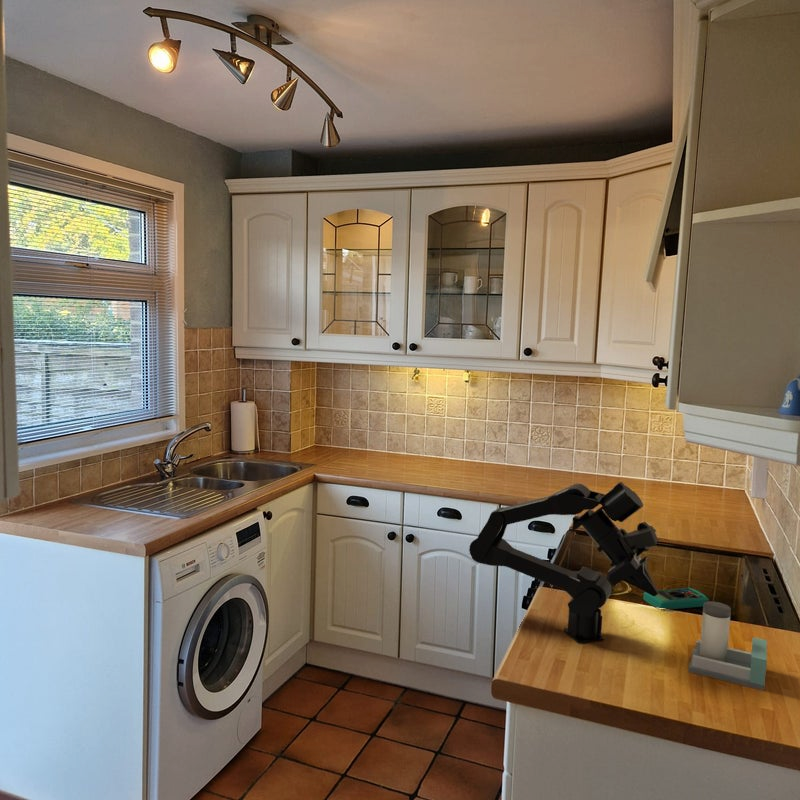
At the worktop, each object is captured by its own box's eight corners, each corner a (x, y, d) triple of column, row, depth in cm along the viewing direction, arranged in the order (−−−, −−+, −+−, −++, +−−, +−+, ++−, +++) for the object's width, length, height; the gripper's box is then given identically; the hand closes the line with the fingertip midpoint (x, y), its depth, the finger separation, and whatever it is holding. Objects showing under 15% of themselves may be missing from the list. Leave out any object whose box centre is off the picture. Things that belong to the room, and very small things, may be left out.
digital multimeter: (710, 608, 169) (711, 596, 168) (660, 612, 164) (661, 600, 164) (690, 596, 176) (691, 586, 175) (641, 601, 171) (642, 589, 171)
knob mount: (688, 671, 134) (690, 642, 133) (693, 652, 143) (695, 624, 142) (764, 690, 128) (766, 660, 127) (764, 668, 136) (766, 640, 136)
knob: (698, 662, 135) (702, 607, 134) (700, 652, 140) (704, 599, 139) (725, 669, 133) (730, 613, 132) (727, 658, 137) (731, 604, 136)
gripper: (627, 522, 134) (682, 588, 129) (642, 503, 150) (692, 561, 146) (584, 553, 138) (637, 618, 134) (604, 532, 154) (651, 588, 150)
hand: (656, 594), depth 141 cm, fingers closed
